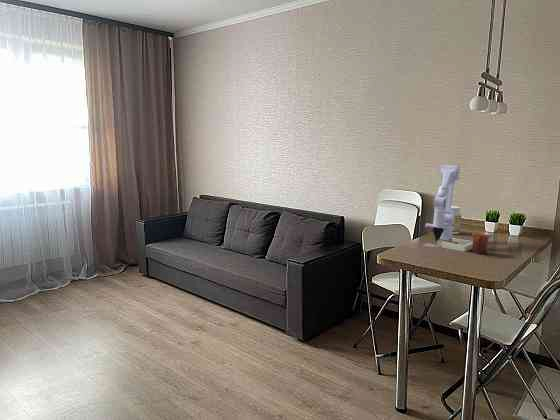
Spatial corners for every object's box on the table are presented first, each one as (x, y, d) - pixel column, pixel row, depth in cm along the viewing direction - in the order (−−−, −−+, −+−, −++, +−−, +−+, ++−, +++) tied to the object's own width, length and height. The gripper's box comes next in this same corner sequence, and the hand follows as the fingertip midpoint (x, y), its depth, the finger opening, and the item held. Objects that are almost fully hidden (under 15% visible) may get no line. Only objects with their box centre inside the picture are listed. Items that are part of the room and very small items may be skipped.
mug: (472, 249, 231) (474, 231, 229) (490, 252, 226) (492, 233, 224) (466, 254, 221) (468, 234, 220) (485, 257, 216) (487, 237, 215)
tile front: (449, 244, 242) (449, 240, 242) (458, 246, 239) (458, 242, 238) (445, 246, 238) (446, 241, 238) (454, 247, 235) (455, 243, 235)
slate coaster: (426, 244, 243) (426, 242, 243) (441, 246, 239) (441, 245, 239) (422, 247, 237) (422, 245, 237) (437, 249, 232) (437, 247, 232)
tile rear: (440, 243, 245) (440, 238, 245) (449, 244, 242) (449, 240, 241) (436, 244, 241) (437, 240, 241) (445, 245, 238) (446, 241, 238)
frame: (451, 242, 246) (452, 237, 246) (475, 246, 238) (476, 241, 237) (441, 247, 234) (441, 242, 234) (465, 251, 226) (465, 246, 225)
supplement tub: (462, 234, 270) (465, 208, 268) (443, 234, 270) (446, 207, 267) (454, 230, 282) (457, 205, 280) (436, 230, 282) (438, 205, 280)
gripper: (423, 216, 244) (422, 240, 246) (449, 220, 234) (447, 244, 236) (429, 215, 249) (427, 238, 251) (454, 218, 239) (452, 242, 241)
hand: (437, 241), depth 244 cm, fingers closed
